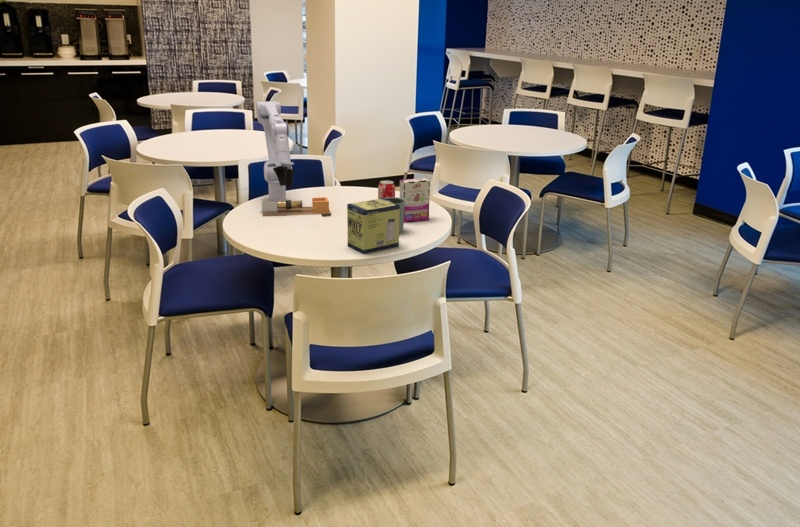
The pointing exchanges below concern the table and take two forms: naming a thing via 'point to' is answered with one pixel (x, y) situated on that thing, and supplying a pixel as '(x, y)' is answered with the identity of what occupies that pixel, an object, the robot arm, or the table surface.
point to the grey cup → (401, 213)
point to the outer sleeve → (269, 206)
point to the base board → (297, 212)
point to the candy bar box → (415, 199)
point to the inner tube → (289, 204)
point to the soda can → (386, 189)
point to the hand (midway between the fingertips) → (286, 186)
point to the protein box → (373, 225)
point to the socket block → (320, 204)
